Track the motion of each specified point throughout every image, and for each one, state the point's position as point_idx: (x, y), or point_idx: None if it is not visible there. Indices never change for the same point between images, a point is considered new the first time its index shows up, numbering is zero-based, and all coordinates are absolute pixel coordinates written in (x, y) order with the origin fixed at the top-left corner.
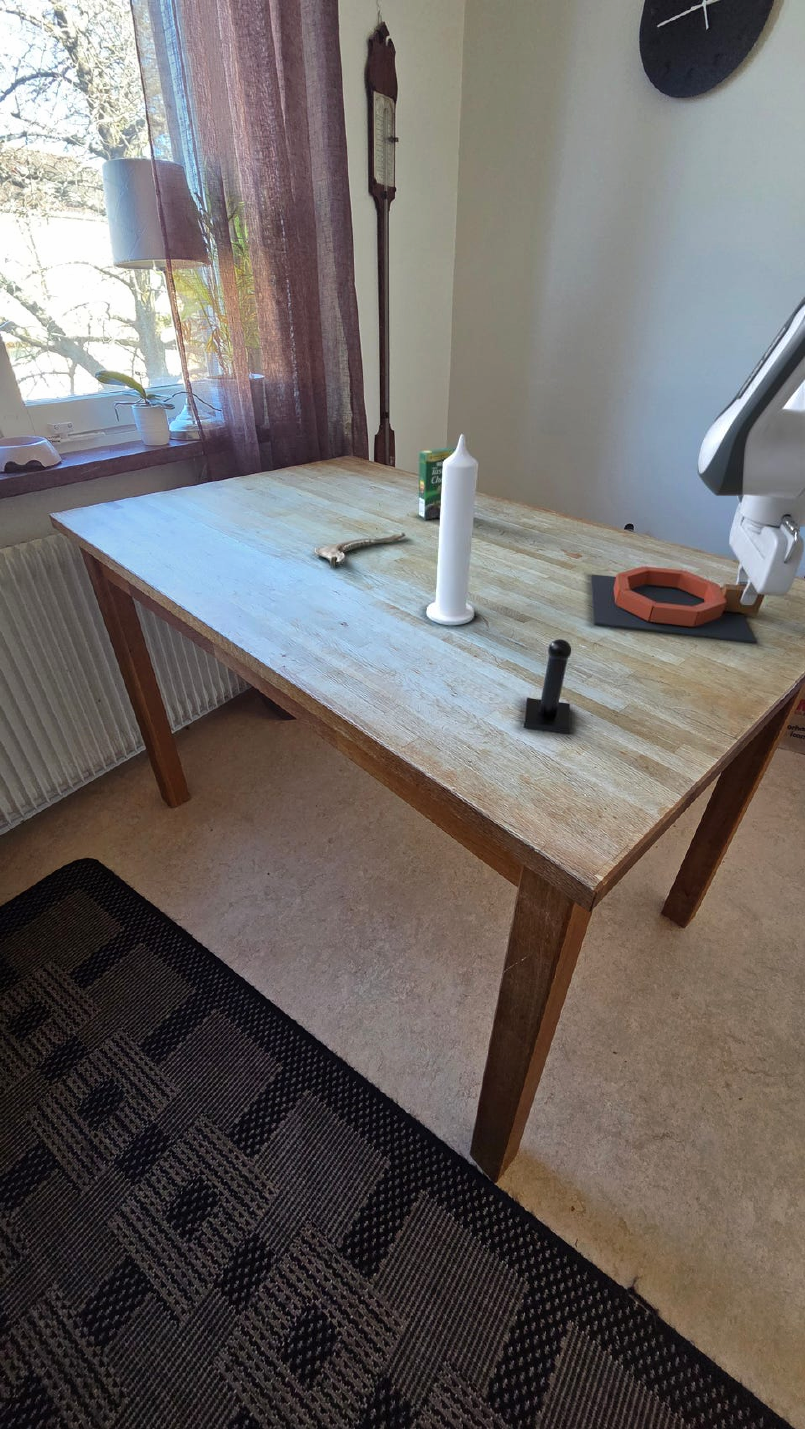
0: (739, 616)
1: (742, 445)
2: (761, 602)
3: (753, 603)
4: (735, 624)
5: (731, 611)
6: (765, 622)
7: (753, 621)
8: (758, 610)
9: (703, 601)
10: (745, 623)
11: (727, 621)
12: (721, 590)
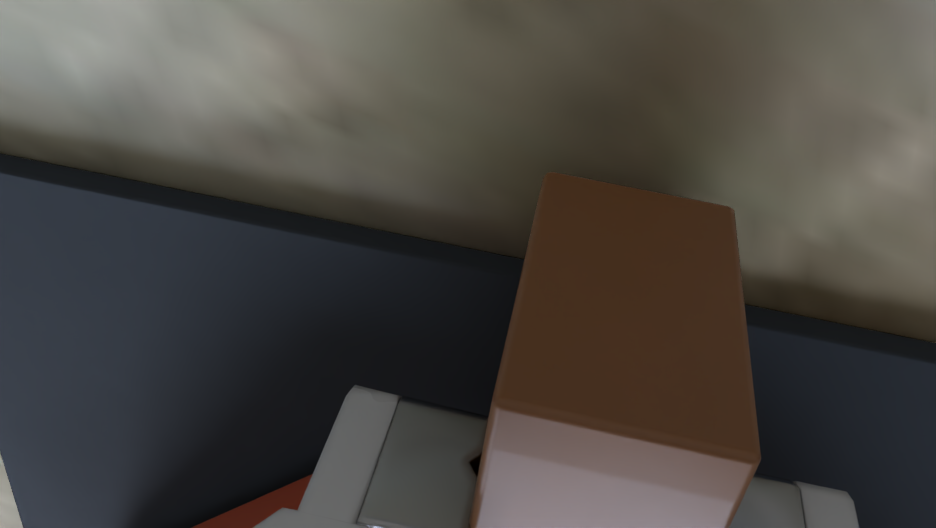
0: None
1: None
2: (747, 333)
3: (850, 506)
4: (913, 470)
5: None
6: (826, 64)
7: (782, 205)
8: (736, 243)
9: None
10: (905, 373)
11: None
12: (25, 268)
